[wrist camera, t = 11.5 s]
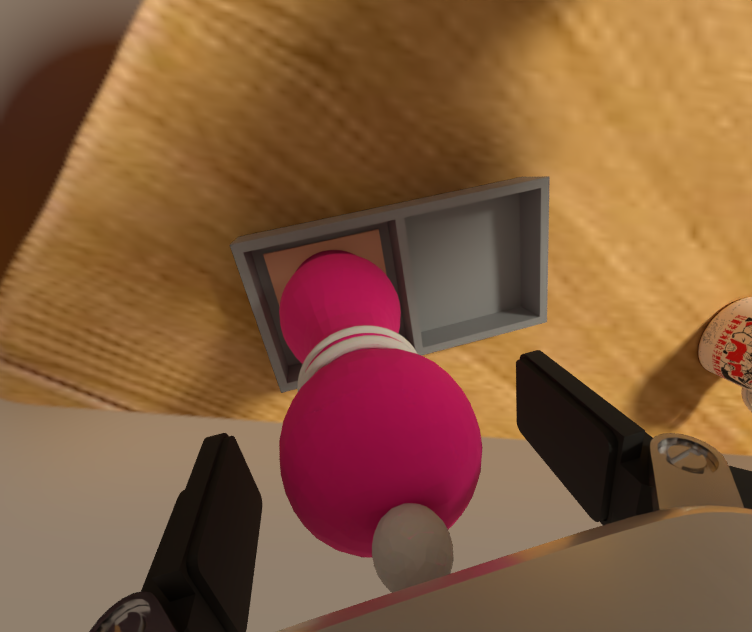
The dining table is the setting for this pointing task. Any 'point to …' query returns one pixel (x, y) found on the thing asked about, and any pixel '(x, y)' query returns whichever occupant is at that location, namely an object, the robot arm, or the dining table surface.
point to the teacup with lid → (730, 346)
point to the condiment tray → (420, 264)
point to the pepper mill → (372, 425)
